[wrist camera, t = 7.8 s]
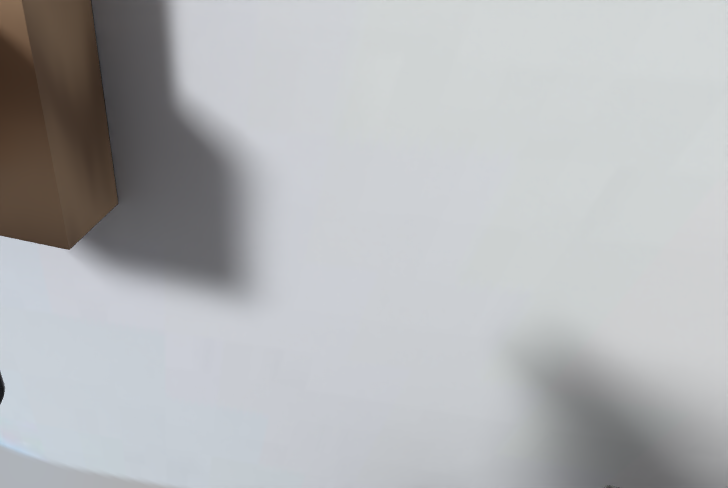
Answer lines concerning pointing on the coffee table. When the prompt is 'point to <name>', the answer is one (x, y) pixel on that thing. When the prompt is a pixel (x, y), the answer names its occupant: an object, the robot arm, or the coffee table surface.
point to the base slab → (52, 123)
